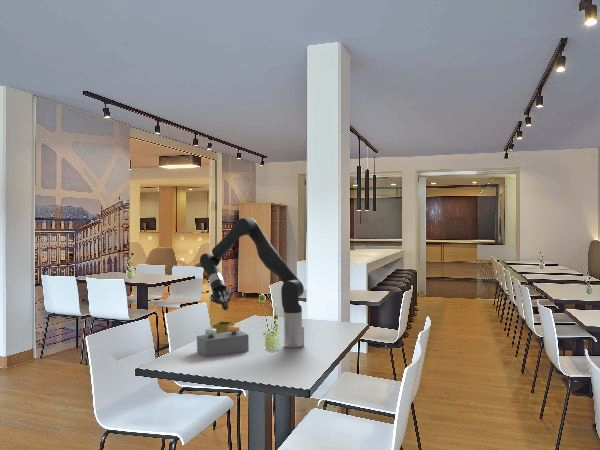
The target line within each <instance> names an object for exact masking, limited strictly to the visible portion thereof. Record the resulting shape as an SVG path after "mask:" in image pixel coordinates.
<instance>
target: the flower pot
mask: <svg viewBox="0 0 600 450" xmlns="http://www.w3.org/2000/svg"><path fill="white" fill-rule="evenodd" d="M229 326H235V322H234V321H218V322H215V323H213V324H212V329H216V333H223V332H230V331H229Z"/></svg>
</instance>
